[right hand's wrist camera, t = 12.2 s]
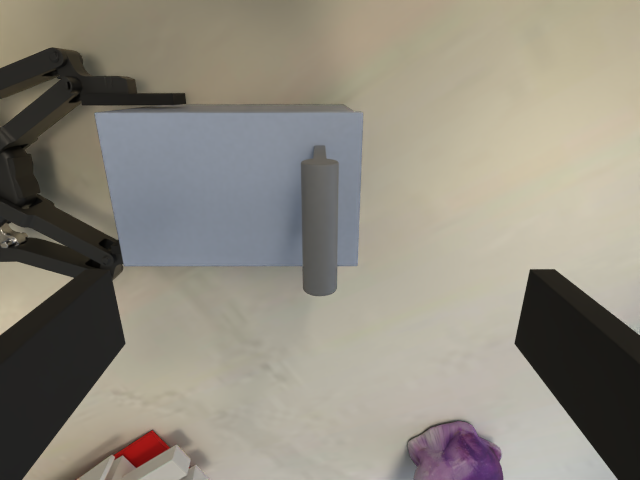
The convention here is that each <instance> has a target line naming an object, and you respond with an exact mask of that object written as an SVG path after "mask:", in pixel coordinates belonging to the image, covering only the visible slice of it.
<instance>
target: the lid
mask: <svg viewBox="0 0 640 480" xmlns="http://www.w3.org/2000/svg"><path fill="white" fill-rule="evenodd" d="M94 114H95V119H96V125H97V130H98V135H99V140H100V145H101V150H102V155H103V161H104V166H105V171H106V176H107V181H108V186H109V191H110V197H111V202H112V207H113V212H114V217H115V222H116V228H117V233H118V238H119V243H120V248H121V253H122V258H123V264H124V266H303V289H304V291H305V292H306V293H308V294H310V295H314V296H326V295H330V294H332V293H334V292H335V291H336V289H337V266H357V265H358V239H359V212H360V186H361V159H362V132H363V113H362V112H95V113H94Z"/></svg>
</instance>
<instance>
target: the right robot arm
mask: <svg viewBox="0 0 640 480" xmlns="http://www.w3.org/2000/svg"><path fill="white" fill-rule="evenodd" d="M124 345H125V339H124V334H123V329H122V325H121V320H120V315H119V310H118V305H117V301H116V296H115V291H114V286H113V281H112V277H111V272H110V269H85V270H84V271H83V272H82V273H80V274H79V275H78V276H76V277H75V278H74V279H72V280H71V281H70V282H69V283H67V284H66V285H65V286H63V287H62V288H61V289H60V290H58V291H57V292H56V293H54V294H53V295H52V296H51V297H49V298H48V299H47V300H45V301H44V302H43V303H41V304H40V305H39V306H38V307H36V308H35V309H34V310H32V311H31V312H30V313H29V314H27V315H26V316H25V317H23V318H22V319H21V320H20V321H18V322H17V323H16V324H14V325H13V326H12V327H10V328H9V329H8V330H7V331H5V332H4V333H3V334H1V335H0V480H22V479H23V478H24V476H25V475H26V474H27V472H28V471H29V470H30V468H31V467H32V466H33V464H34V463H35V462H36V461H37V459H38V458H39V457H40V455H41V454H42V453H43V451H44V450H45V449H46V447H47V446H48V445H49V443H50V442H51V441H52V440H53V438H54V437H55V436H56V434H57V433H58V432H59V430H60V429H61V428H62V426H63V425H64V424H65V422H66V421H67V420H68V418H69V417H70V416H71V415H72V413H73V412H74V411H75V409H76V408H77V407H78V405H79V404H80V403H81V401H82V400H83V399H84V397H85V396H86V395H87V393H88V392H89V391H90V390H91V388H92V387H93V386H94V384H95V383H96V382H97V380H98V379H99V378H100V376H101V375H102V374H103V372H104V371H105V370H106V369H107V367H108V366H109V365H110V363H111V362H112V361H113V359H114V358H115V357H116V355H117V354H118V353H119V351H120V350H121V349H122V347H123V346H124ZM515 345H516V346H517V347H518V349H519V350H520V351H521V353H522V354H523V355H524V357H525V358H526V359H527V361H528V362H529V363H530V365H531V366H532V367H533V369H534V370H535V371H536V372H537V374H538V375H539V376H540V378H541V379H542V380H543V382H544V383H545V384H546V386H547V387H548V388H549V390H550V391H551V392H552V393H553V395H554V396H555V397H556V399H557V400H558V401H559V403H560V404H561V405H562V407H563V408H564V409H565V411H566V412H567V413H568V415H569V416H570V417H571V418H572V420H573V421H574V422H575V424H576V425H577V426H578V428H579V429H580V430H581V432H582V433H583V434H584V436H585V437H586V438H587V440H588V441H589V442H590V443H591V445H592V446H593V447H594V449H595V450H596V451H597V453H598V454H599V455H600V457H601V458H602V459H603V461H604V462H605V463H606V464H607V466H608V467H609V468H610V470H611V471H612V472H613V474H614V475H615V476H616V478H617V479H618V480H640V335H639V334H637V333H636V332H635V331H633V330H632V329H631V328H630V327H628V326H627V325H626V324H624V323H623V322H622V321H620V320H619V319H618V318H617V317H615V316H614V315H613V314H611V313H610V312H609V311H608V310H606V309H605V308H604V307H602V306H601V305H600V304H599V303H597V302H596V301H595V300H593V299H592V298H591V297H589V296H588V295H587V294H586V293H584V292H583V291H582V290H580V289H579V288H578V287H577V286H575V285H574V284H573V283H571V282H570V281H569V280H568V279H566V278H565V277H564V276H562V275H561V274H560V273H558V272H557V271H556V270H555V269H530V272H529V277H528V281H527V286H526V291H525V296H524V301H523V305H522V310H521V315H520V320H519V325H518V329H517V334H516V339H515Z"/></svg>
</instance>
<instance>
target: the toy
mask: <svg viewBox="0 0 640 480" xmlns="http://www.w3.org/2000/svg"><path fill="white" fill-rule="evenodd" d="M190 461H191V459H190V458H189V457H188V456H187V455H186V453H185V452H184V451H183V450H182V449H181V448H180V447H179V446H178V445H177V444H176V445H175V446H173V447H171V448H170V447H169V446H168V445H167V444H166V443H165V442H164V441H163V440H162V439H161V438H160V437H159V436H158V435H157V434H156V433H155V432H154V431H153V430H152V431H150V432H149V433H147V434H146V435H144V436H143V437H141V438H139V439H138V440H136V441H135V442H133V443H132V444H130V445H129V446H127V447H126V448H124V449H122V450H121V451H119V452H118V453H116V454H115V455H110V456H109V457H108V458H106V459H105V460H103V461H102V462H101V463H99V464H98V465H97V466H95V467H94V468H92V469H91V470H90V471H88V472H87V473H85V474H84V475H82V476H81V477H79V478H78V479H76V480H209V478H208V477H207V476H206V474H205V473H204V472H203V471H202V470H201V469H200V468H199V467H198V466H197V465H194V466H193V467H191V468H190V467H189V465H190Z"/></svg>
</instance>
